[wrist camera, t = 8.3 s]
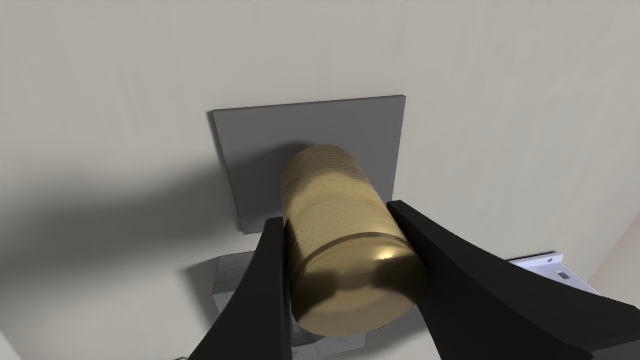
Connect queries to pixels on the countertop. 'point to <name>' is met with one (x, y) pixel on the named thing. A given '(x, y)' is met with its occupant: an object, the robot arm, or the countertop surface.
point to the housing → (301, 339)
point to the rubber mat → (305, 146)
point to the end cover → (343, 247)
